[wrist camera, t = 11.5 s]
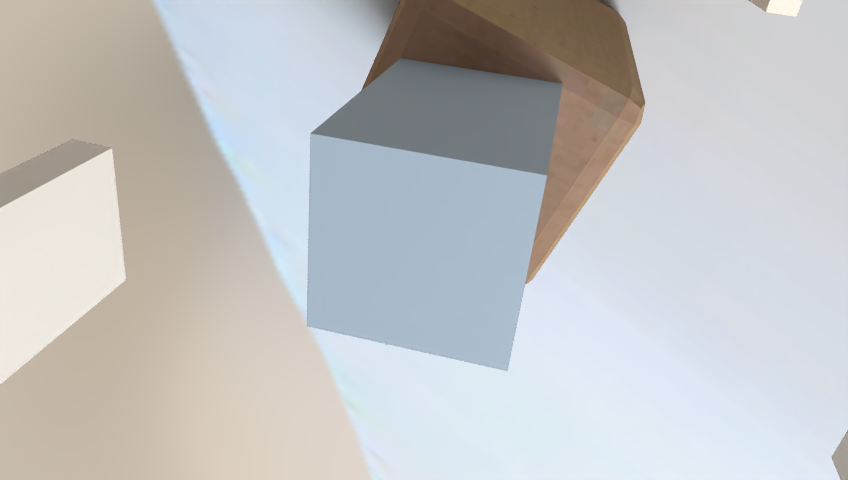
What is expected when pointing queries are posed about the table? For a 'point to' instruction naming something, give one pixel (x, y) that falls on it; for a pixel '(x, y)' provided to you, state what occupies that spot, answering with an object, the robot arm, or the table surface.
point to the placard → (779, 6)
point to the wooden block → (542, 60)
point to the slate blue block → (429, 209)
